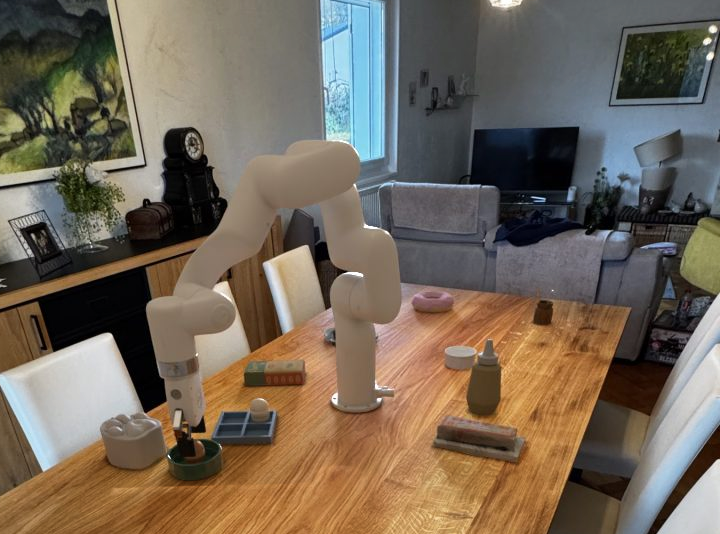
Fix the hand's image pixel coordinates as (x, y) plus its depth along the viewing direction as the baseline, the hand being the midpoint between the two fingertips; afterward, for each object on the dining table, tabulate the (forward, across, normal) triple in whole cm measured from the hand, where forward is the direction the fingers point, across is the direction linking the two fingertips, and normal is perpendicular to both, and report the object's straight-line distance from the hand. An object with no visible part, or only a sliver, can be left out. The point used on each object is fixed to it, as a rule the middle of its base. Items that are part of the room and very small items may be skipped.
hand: (193, 443), depth 116 cm
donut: (+7, +109, -64) cm, 126 cm away
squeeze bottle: (+6, +23, -64) cm, 68 cm away
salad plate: (+6, +78, -33) cm, 85 cm away
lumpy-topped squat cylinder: (+6, +6, +15) cm, 17 cm away
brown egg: (+5, 0, 0) cm, 5 cm away
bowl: (+6, 0, 0) cm, 6 cm away
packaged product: (+6, +7, -60) cm, 61 cm away
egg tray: (+6, +16, -8) cm, 19 cm away
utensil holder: (+7, +89, -98) cm, 132 cm away
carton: (+6, +46, -12) cm, 48 cm away
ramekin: (+6, +53, -64) cm, 83 cm away
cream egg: (+6, +19, -11) cm, 23 cm away
